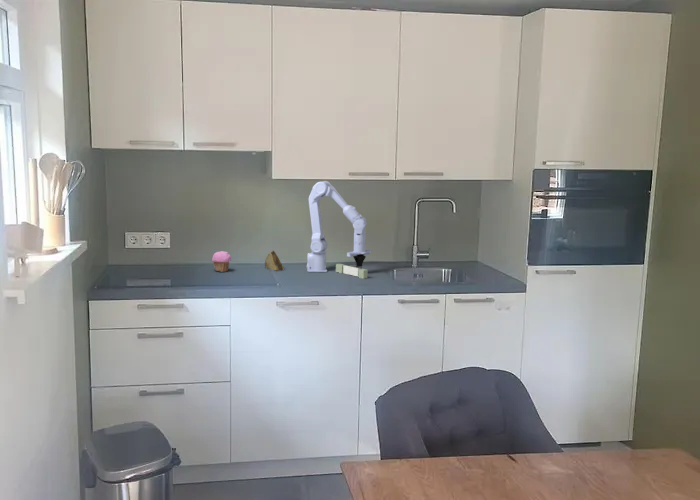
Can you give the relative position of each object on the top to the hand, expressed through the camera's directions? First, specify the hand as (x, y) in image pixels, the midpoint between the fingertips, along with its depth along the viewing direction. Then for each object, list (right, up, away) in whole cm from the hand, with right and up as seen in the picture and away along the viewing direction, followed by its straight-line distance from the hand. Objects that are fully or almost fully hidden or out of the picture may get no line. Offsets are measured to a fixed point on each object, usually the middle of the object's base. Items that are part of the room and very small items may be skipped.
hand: (359, 270), depth 320 cm
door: (-3, -2, -5) cm, 6 cm away
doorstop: (-2, -2, -2) cm, 3 cm away
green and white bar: (-4, -2, -4) cm, 6 cm away
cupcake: (-66, -1, -4) cm, 66 cm away
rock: (-42, 0, +6) cm, 43 cm away
